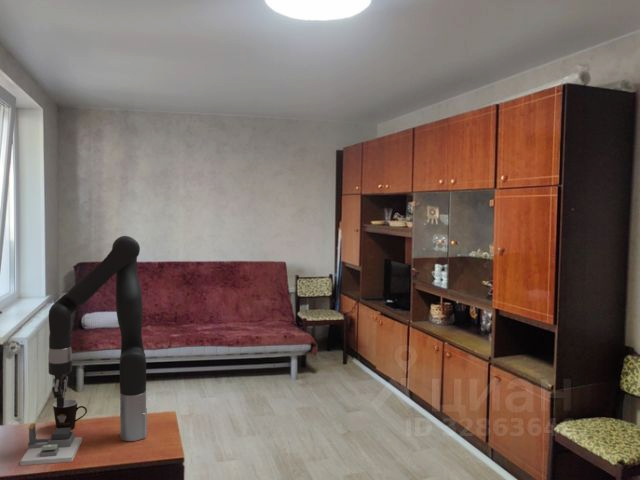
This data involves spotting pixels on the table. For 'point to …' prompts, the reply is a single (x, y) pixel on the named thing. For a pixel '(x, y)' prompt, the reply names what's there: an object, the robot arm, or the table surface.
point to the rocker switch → (49, 447)
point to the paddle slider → (32, 434)
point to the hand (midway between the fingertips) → (60, 407)
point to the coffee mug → (67, 414)
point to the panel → (52, 451)
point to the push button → (61, 434)
